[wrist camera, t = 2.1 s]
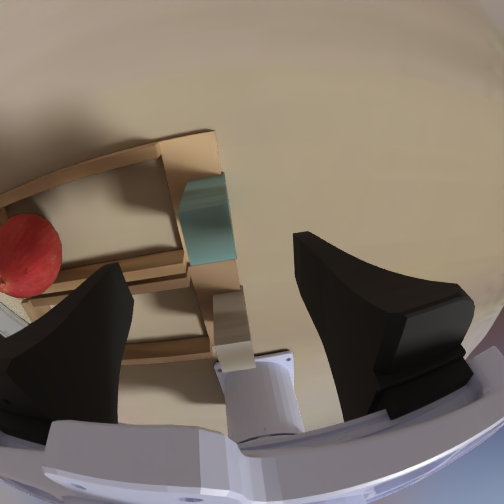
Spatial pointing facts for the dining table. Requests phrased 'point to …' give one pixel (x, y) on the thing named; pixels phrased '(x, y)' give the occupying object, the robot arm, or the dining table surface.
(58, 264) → the red round piece
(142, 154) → the wooden divided tray
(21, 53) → the dining table surface
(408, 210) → the dining table surface
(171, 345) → the lane empty
